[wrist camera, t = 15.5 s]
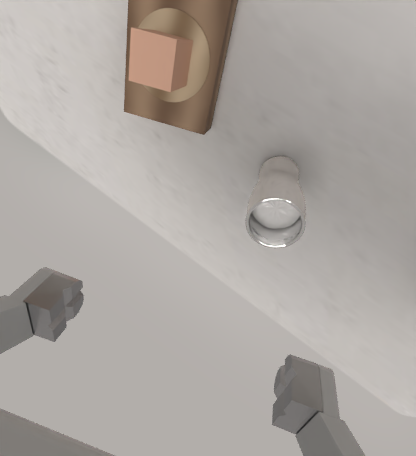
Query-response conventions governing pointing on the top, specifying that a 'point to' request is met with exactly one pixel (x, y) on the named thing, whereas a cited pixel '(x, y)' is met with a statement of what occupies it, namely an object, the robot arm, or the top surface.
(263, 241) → the beer glass
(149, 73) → the terracotta block
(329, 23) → the top surface
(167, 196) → the top surface
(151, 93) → the block
